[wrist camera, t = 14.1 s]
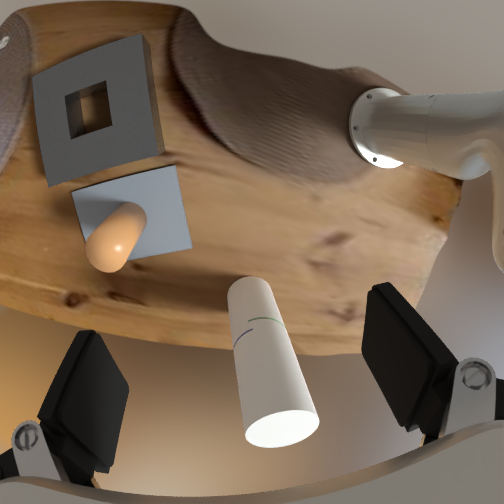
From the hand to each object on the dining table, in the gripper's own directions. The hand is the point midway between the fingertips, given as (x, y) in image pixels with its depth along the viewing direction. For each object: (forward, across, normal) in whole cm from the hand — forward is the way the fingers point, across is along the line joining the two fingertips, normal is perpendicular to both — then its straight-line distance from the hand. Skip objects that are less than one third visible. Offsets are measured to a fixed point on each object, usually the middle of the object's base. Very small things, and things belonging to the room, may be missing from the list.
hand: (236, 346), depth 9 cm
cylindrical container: (+32, -1, +19) cm, 37 cm away
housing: (+32, +15, -13) cm, 38 cm away
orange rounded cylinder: (+31, +14, +3) cm, 34 cm away
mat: (+32, +14, +3) cm, 35 cm away
